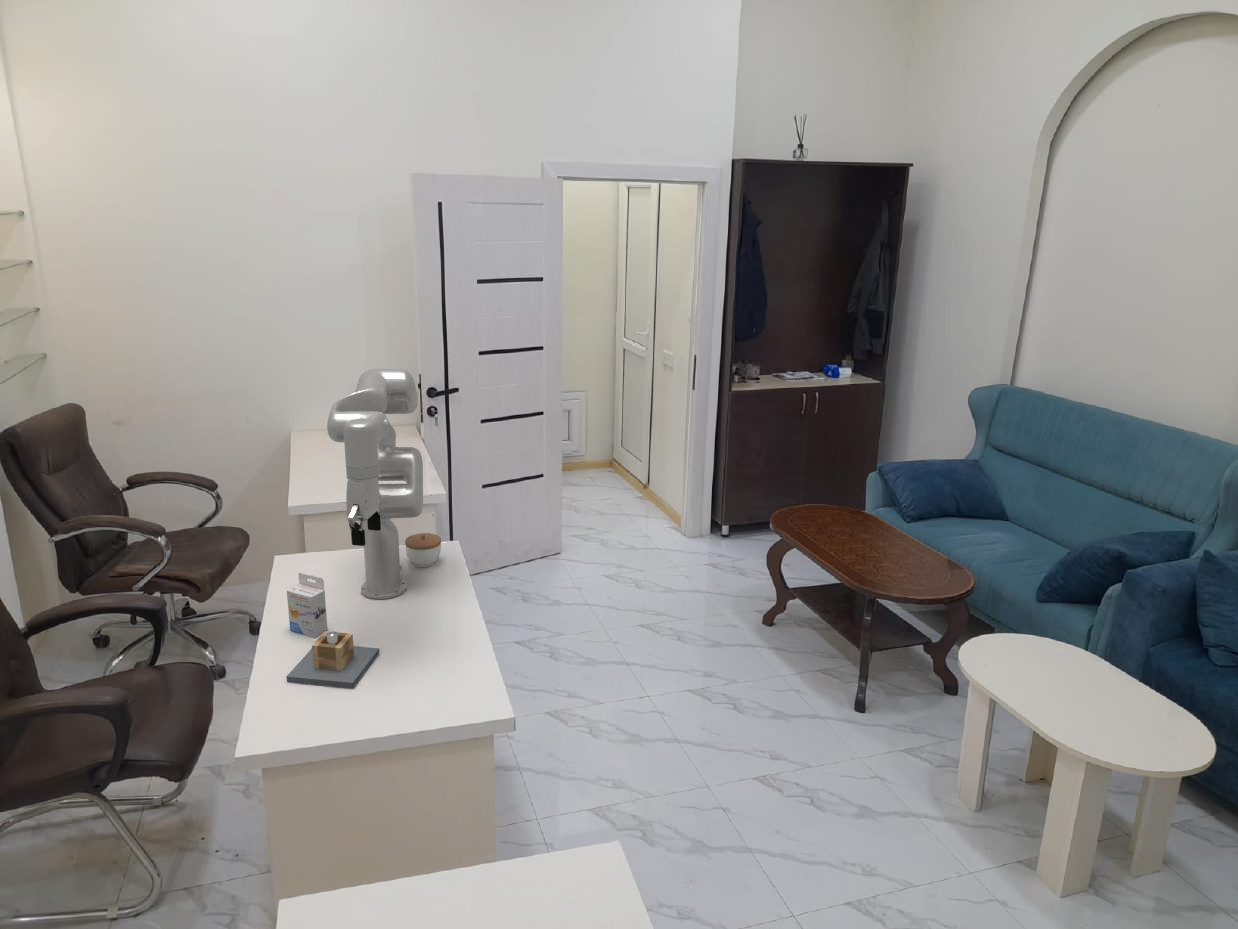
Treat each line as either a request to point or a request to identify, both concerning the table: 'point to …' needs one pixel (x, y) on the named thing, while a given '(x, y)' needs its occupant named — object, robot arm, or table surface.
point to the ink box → (307, 606)
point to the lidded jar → (423, 549)
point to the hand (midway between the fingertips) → (366, 537)
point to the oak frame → (333, 652)
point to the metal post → (332, 638)
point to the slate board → (334, 678)
